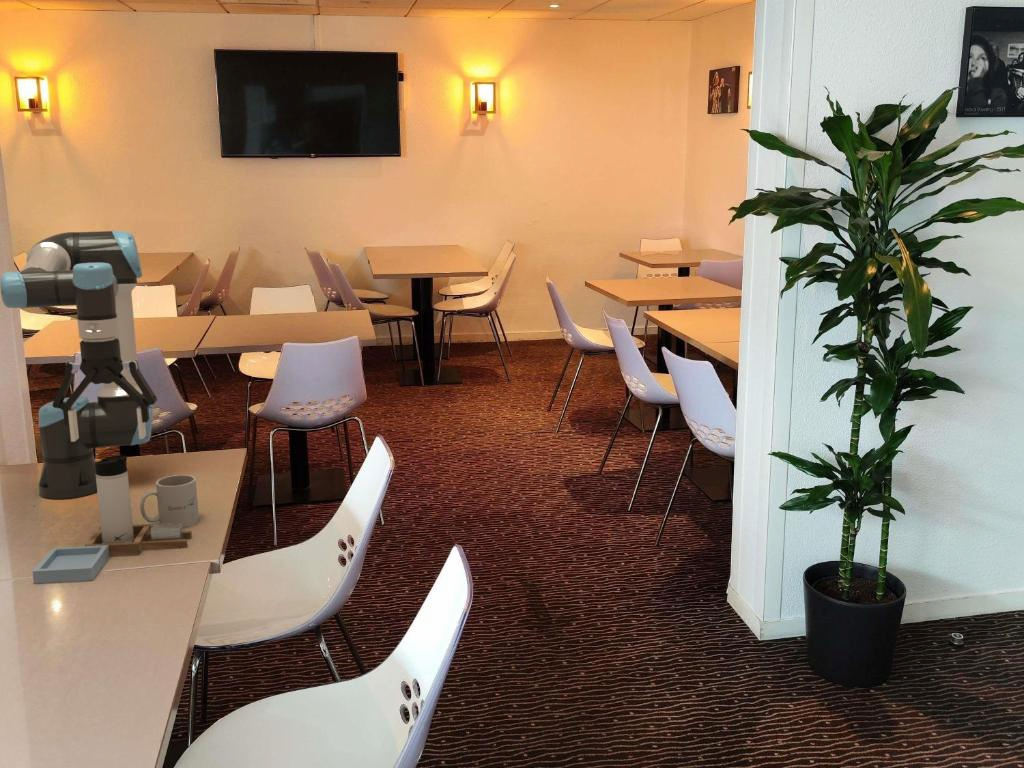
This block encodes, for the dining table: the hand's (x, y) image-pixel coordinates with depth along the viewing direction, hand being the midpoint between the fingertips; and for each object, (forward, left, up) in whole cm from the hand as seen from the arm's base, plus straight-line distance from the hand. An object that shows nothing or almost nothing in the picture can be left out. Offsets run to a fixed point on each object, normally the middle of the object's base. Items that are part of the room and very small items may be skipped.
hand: (109, 438), depth 200 cm
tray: (+12, -6, -24) cm, 27 cm away
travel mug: (0, 0, -24) cm, 24 cm away
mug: (-13, +8, -24) cm, 29 cm away
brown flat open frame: (0, +5, -24) cm, 24 cm away
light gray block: (0, +10, -24) cm, 26 cm away
